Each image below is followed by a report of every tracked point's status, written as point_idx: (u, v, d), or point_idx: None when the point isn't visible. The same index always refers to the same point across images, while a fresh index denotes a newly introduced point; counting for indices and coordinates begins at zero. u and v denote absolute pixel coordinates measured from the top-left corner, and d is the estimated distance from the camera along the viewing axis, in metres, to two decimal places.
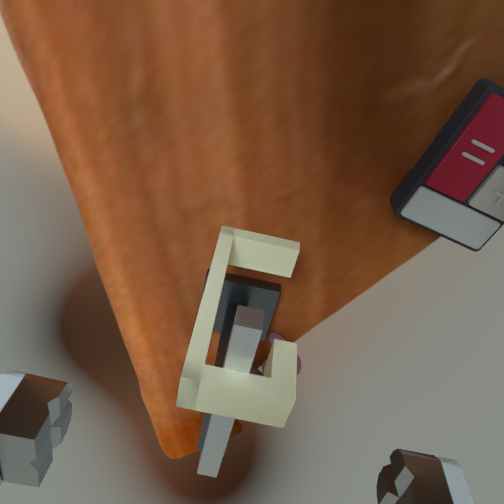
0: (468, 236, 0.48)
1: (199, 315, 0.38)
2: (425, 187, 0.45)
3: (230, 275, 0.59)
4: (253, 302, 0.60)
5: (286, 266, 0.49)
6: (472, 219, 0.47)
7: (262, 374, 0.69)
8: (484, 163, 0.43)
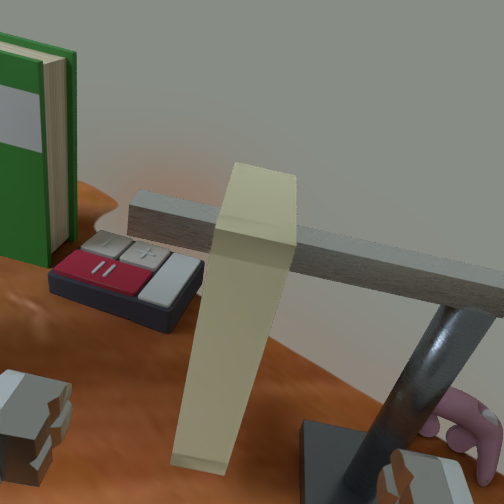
0: (188, 265, 0.55)
1: None
2: (139, 294, 0.49)
3: (301, 499, 0.37)
4: (335, 455, 0.39)
5: None
6: (170, 265, 0.54)
7: (476, 444, 0.43)
8: (114, 264, 0.52)
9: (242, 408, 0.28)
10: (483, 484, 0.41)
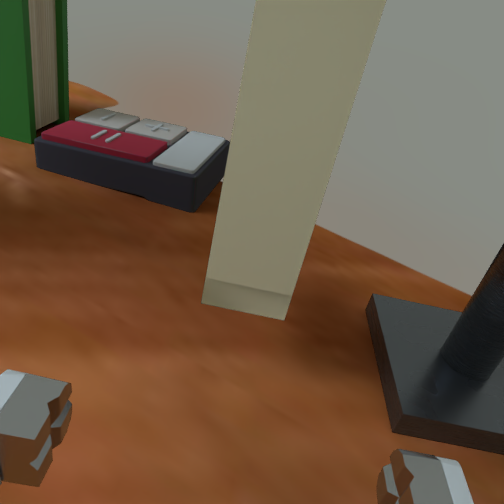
0: (211, 141, 0.44)
1: None
2: (154, 160, 0.38)
3: (384, 381, 0.26)
4: (422, 332, 0.28)
5: None
6: (189, 140, 0.43)
7: None
8: (119, 133, 0.41)
9: (326, 171, 0.17)
10: None
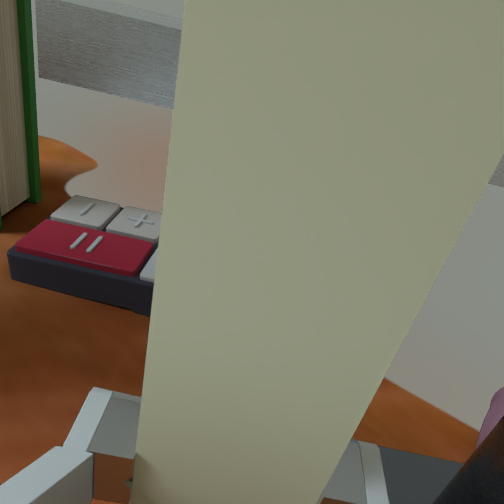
0: None
1: None
2: (140, 273, 0.35)
3: None
4: (400, 496, 0.26)
5: None
6: None
7: None
8: (101, 236, 0.38)
9: (357, 404, 0.08)
10: None
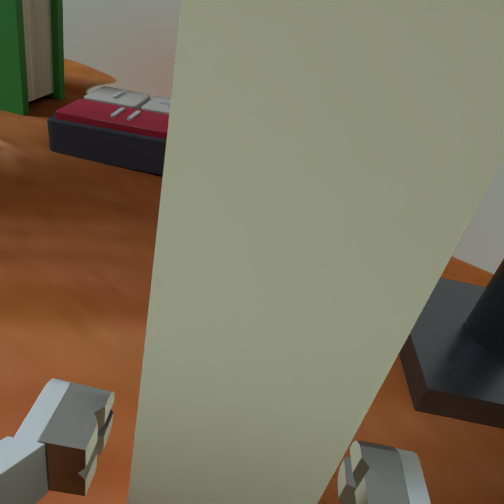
0: None
1: (169, 131, 0.06)
2: None
3: (404, 356, 0.23)
4: (443, 305, 0.26)
5: None
6: None
7: None
8: (138, 111, 0.38)
9: (324, 472, 0.09)
10: None
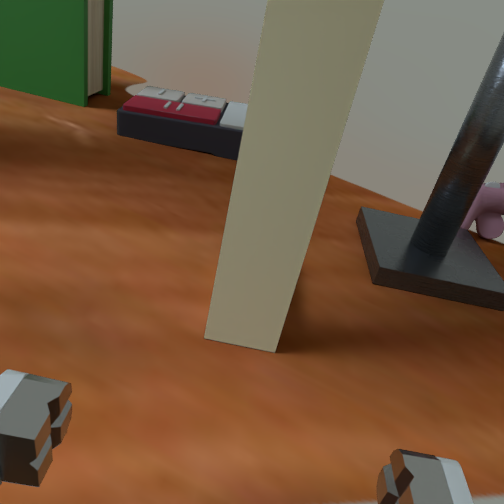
0: None
1: (252, 81, 0.17)
2: (219, 122, 0.47)
3: (368, 257, 0.35)
4: (398, 229, 0.38)
5: None
6: (234, 108, 0.53)
7: None
8: (182, 104, 0.49)
9: (307, 235, 0.21)
10: None
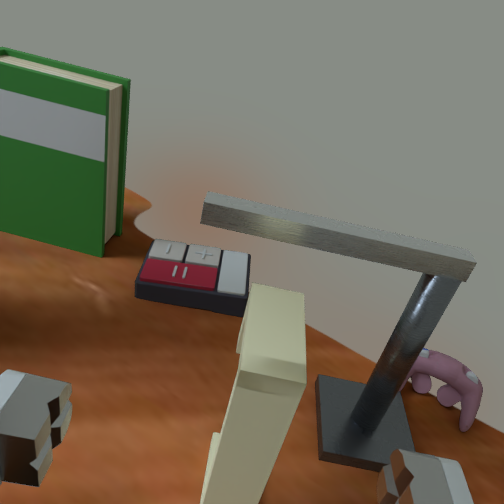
0: (241, 259, 0.66)
1: (222, 433, 0.29)
2: (217, 288, 0.59)
3: (318, 431, 0.47)
4: (344, 400, 0.50)
5: None
6: (227, 261, 0.65)
7: (460, 399, 0.53)
8: (186, 267, 0.61)
9: (258, 495, 0.33)
10: (463, 429, 0.51)
